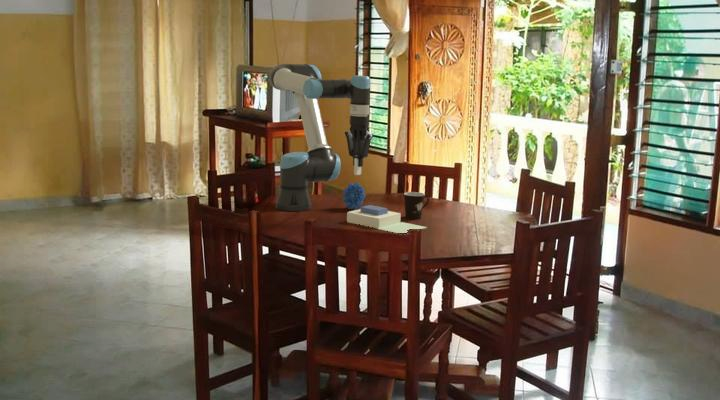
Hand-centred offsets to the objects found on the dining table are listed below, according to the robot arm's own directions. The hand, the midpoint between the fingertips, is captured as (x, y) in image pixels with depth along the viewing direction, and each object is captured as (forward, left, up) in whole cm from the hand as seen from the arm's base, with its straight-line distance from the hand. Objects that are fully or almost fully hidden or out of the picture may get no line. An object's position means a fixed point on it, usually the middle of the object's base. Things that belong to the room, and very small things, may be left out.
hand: (357, 174), depth 308 cm
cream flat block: (+9, 0, -18) cm, 20 cm away
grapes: (-12, +14, -19) cm, 26 cm away
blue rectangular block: (+9, 0, -14) cm, 17 cm away
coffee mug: (+16, +20, -19) cm, 32 cm away
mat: (+23, 0, -18) cm, 29 cm away
